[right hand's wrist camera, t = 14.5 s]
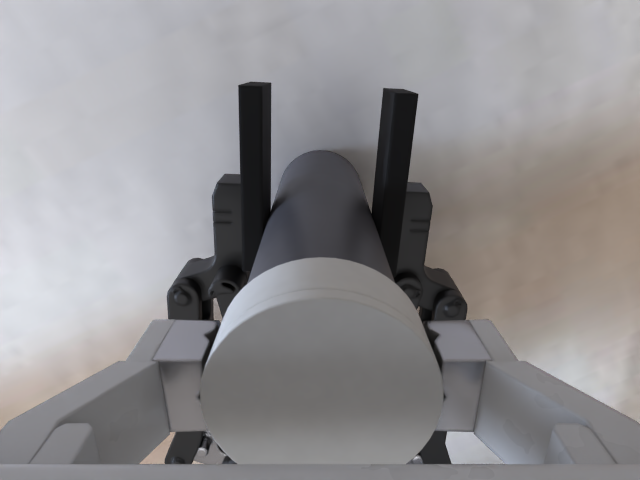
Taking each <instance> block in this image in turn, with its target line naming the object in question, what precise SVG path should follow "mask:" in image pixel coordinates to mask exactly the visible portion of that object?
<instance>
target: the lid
mask: <svg viewBox="0 0 640 480" xmlns="http://www.w3.org/2000/svg"><path fill="white" fill-rule="evenodd" d="M443 395H444V388H443V380H442V375H441V372H440V368H439V365H438V362H437V360H436V357H435V355H434V352H433V350H432V347H431V345H430V342H429V339H428V337H427V334H426V332H425V329H424V327H423V324H422V322H421V319H420V316H419V314H418V312H417V310H416V308H415V306H414V305H413V303H412V302H411V300H410V299H409V297H408V296H407V295H406V294H405V293H404V291H403V290H402V289H401V288H400V287H399V286H398V285H397V284H395V283H394V282H393V281H392V280H390V279H389V278H388V277H386V276H385V275H383V274H381V273H380V272H378V271H376V270H374V269H372V268H370V267H367V266H365V265H363V264H359V263H356V262H353V261H349V260H344V259H338V258H325V257H317V258H305V259H300V260H295V261H290V262H287V263H284V264H281V265H278V266H276V267H274V268H272V269H269V270H267V271H265V272H264V273H262V274H260V275H259V276H257V277H256V278H254V279H253V280H252V281H250V282H249V283H248V284H247V285H246V286H245V287H243V288H242V290H241V291H240V292H239V293H238V294H237V295H236V296H235V298H234V299H233V301H232V302H231V304H230V305H229V307H228V309H227V311H226V313H225V315H224V317H223V320H222V322H221V325H220V328H219V330H218V333H217V336H216V338H215V341H214V343H213V346H212V349H211V351H210V354H209V357H208V359H207V362H206V364H205V367H204V371H203V375H202V378H201V387H200V401H201V408H202V412H203V417H204V420H205V422H206V425H207V427H208V430H209V431H210V433H211V435H212V436H213V438H214V440H215V441H216V443H217V444H218V445H219V446H220V448H221V449H222V450H223V451H224V452H225V453H226V454H227V455H228V456H229V457H230V458H231V459H232V460H233V461H234V462H236V463H237V464H406V463H408V462H409V461H410V460H411V459H413V458H414V457H415V456H416V455H417V454H418V453H419V452H420V451H421V450H422V449H423V447H424V446H425V445H426V443H427V442H428V441H429V439H430V438H431V436H432V434H433V432H434V430H435V429H436V427H437V424H438V421H439V418H440V416H441V411H442V406H443Z"/></svg>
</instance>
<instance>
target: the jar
mask: <svg viewBox="0 0 640 480" xmlns="http://www.w3.org/2000/svg"><path fill="white" fill-rule="evenodd" d="M317 257H325V258H338V259H344V260H349V261H353V262H356V263H359V264H363V265H365V266H367V267H370V268H372V269H374V270H376V271H378V272H380V273H381V274H383V275H385V276H386V277H388V278H389V279H390V280H392V281H393V282H394V283H395V281H394V278H393V276H392V273H391V270H390V267H389V264H388V261H387V258H386V255H385V252H384V249H383V246H382V243H381V241H380V238H379V235H378V232H377V229H376V226H375V223H374V220H373V217H372V214H371V211H370V208H369V206H368V203H367V200H366V197H365V194H364V191H363V188H362V185H361V182H360V179H359V176H358V174H357V172H356V170H355V169H354V167H353V166H352V165H351V163H350V162H349V161H347V160H346V159H345V158H343V157H342V156H340V155H338V154H336V153H333V152H330V151H321V150H319V151H311V152H308V153H305V154H303V155H301V156H299V157H297V158H296V159H295V160H293V161H292V162H291V163H290V164H289V166H288V167H287V168H286V170H285V172H284V174H283V176H282V179H281V182H280V185H279V188H278V191H277V194H276V197H275V200H274V203H273V206H272V209H271V212H270V216H269V219H268V222H267V225H266V228H265V231H264V234H263V237H262V240H261V243H260V246H259V249H258V252H257V255H256V258H255V261H254V264H253V267H252V270H251V273H250V276H249V280H248V283H249V282H250V281H252V280H253V279H254V278H256V277H257V276H259V275H260V274H262V273H264V272H265V271H267V270H269V269H272V268H274V267H276V266H278V265H281V264H284V263H287V262H290V261H295V260H300V259H305V258H317ZM248 283H247V284H248Z"/></svg>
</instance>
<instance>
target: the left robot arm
mask: <svg viewBox="0 0 640 480" xmlns="http://www.w3.org/2000/svg"><path fill="white" fill-rule="evenodd" d="M238 87H239V133H240V174H224V175H223V177H222V178H221V179H220V180H219V181H218V182H217V184H216V187H215V190H214V192H213V195H212V206H213V221H214V223H213V227H214V248H215V256H212V257H210V258H206V259H201V258H193V259H191V260H189V261H188V262H187V264H186V265H185V267H184V268H183V269H182V271H181V272H180V274H179V275H178V277H177V278H176V280H175V281H174V283H173V285H172V286H171V288H170V289H169V291H168V293H167V305H168V319H175V320H214V316H213V298H217V301H218V304H219V308H220V311H221V315H222V318H223V317H224V315H225V313H226V311H227V309H228V307H229V305H230V304H231V302H232V301H233V299H234V298H235V296H236V295H237V294H238V293H239V292H240V291H241V290H242V288H243V287H245V286H246V285H247V283H248V280H249V276H250V273H251V270H252V267H253V264H254V261H255V258H256V255H257V252H258V249H259V246H260V243H261V240H262V237H263V234H264V231H265V228H266V225H267V222H268V219H269V216H270V212H271V83H265V82H248V83H245V84H241V85H238ZM417 101H418V94H417V93H414V92H411V91H408V90H404V89H389V88H383V98H382V109H381V119H380V130H379V140H378V151H377V161H376V172H375V183H374V193H373V204H372V217H373V220H374V223H375V226H376V229H377V232H378V235H379V238H380V241H381V243H382V246H383V249H384V252H385V255H386V258H387V261H388V264H389V267H390V270H391V273H392V276H393V278H394V281H395V284H397V285H398V286H399V287H400V288H401V289H402V290H403V291H404V293H405V294H406V295H407V296H408V297H409V299H410V300H411V302H412V303H413V305H414V306H415V308H416V310H417V308H418V306H420V309H419V316H420V319H421V322H422V324H423V321H447V320H466V314H467V303H466V302H465V300H464V298H463V297H462V295H461V293H460V291H459V290H458V288H457V286H456V285H455V283H454V281H453V280H452V278H451V277H450V275H449V274H448V272H447V271H445V270H444V269H439V268H437V269H431V268H429V267H426V266H425V265H424V261H425V254H426V248H427V241H428V234H429V227H430V220H431V214H432V207H433V206H432V202H431V198H430V194H429V192H428V191H427V190H426V188H425V187H424V186H423V185H422V184H421V183H413V182H408V174H409V166H410V158H411V149H412V141H413V133H414V125H415V117H416V109H417ZM446 434H447V431H434V432H433V434H432V436H431V438H430V439H429V441H428V442H427V443H426V445H425V446H424V447H423V449H422V450H421V451H420V452H419V453H418V454H417V455H416V456H415V457H414V458H413V459H411V460H410V461H409V462H408V463H406V464H451V461H450V458H449V455H448V451H447V448H446V445H445V440H446ZM193 460H194V461H197V462H200V463H204V464H237V463H236V462H234V461H233V460H232V459H231V458H230V457H229V456H228V455H227V454H226V453H225V452H224V451H223V450H222V449H221V448H220V446H219V445H218V444H217V443H216V441H215V440H214V438H213V436H212V435H211V433H210V431H184V432H175V435H174V437H173V440H172V442H171V445H170V447H169V450H168V453H167V455H166V458H165V464H192V462H193Z"/></svg>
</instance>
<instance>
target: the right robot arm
mask: <svg viewBox="0 0 640 480" xmlns="http://www.w3.org/2000/svg"><path fill="white" fill-rule="evenodd" d="M220 325H221V323H220V321H219V320H175V319H162V320H154V321H152V322H151V323H150V325H149V326H148V328H147V329H146V331H145V332H144V334H143V335H142V337H141V338H140V340H139V341H138V343H137V344H136V346H135V348H134V349H133V351H132V352H131V354H130V355H129V357H128V358H127V360H126V361H118V362H116V363H114V364H113V365H111V366H109V367H107V368H105V369H103V370H102V371H100V372H98V373H96V374H94V375H92V376H91V377H89V378H87V379H85V380H83V381H82V382H80V383H78V384H76V385H74V386H72V387H71V388H69V389H67V390H65V391H63V392H61V393H60V394H58V395H56V396H54V397H52V398H50V399H49V400H47V401H45V402H43V403H41V404H39V405H38V406H36V407H34V408H32V409H30V410H28V411H27V412H25V413H23V414H21V415H19V416H17V417H16V418H14V419H12V420H10V421H8V423H7V424H6V425H5V426H4V427H3V428H2V429H1V431H0V480H640V424H639V423H638V422H637V421H635V420H633V419H631V418H629V417H627V416H626V415H624V414H622V413H620V412H618V411H616V410H615V409H613V408H611V407H609V406H607V405H605V404H603V403H602V402H600V401H598V400H596V399H594V398H592V397H591V396H589V395H587V394H585V393H583V392H581V391H580V390H578V389H576V388H574V387H572V386H570V385H568V384H567V383H565V382H563V381H561V380H559V379H557V378H556V377H554V376H552V375H550V374H548V373H546V372H545V371H543V370H541V369H539V368H537V367H535V366H534V365H532V364H530V363H528V362H526V361H518V359H517V358H516V356H515V355H514V354H513V352H512V351H511V349H510V348H509V346H508V345H507V343H506V342H505V340H504V339H503V337H502V336H501V334H500V333H499V332H498V330H497V329H496V327H495V326H494V324H493V323H492V321H490V320H488V319H478V320H447V321H423V327H424V329H425V332H426V334H427V337H428V339H429V342H430V345H431V347H432V350H433V352H434V355H435V357H436V360H437V362H438V365H439V368H440V372H441V375H442V380H443V388H444V395H443V406H442V411H441V416H440V418H439V421H438V424H437V427H436V429H435V430H434V431H459V432H474V434H475V435H476V436H477V437H478V438H479V439H480V440H481V441H482V442H483V443H484V444H485V445H486V446H487V447H488V448H489V449H491V450H492V451H493V452H494V453H495V454H496V455H497V456H498V457H499V458H500V459H501V460H502V461H503V462H504V463H505V464H139V463H140V462H141V461H142V460H143V459H144V458H145V457H146V456H147V455H149V454H150V453H151V452H152V451H153V450H154V449H155V448H156V447H157V446H158V445H159V444H160V443H161V442H162V441H163V440H164V439H165V438H166V437H167V436H168V435H170V432H184V431H209V430H208V427H207V425H206V422H205V420H204V417H203V412H202V408H201V401H200V387H201V378H202V375H203V371H204V367H205V364H206V362H207V359H208V357H209V354H210V351H211V349H212V346H213V343H214V341H215V338H216V336H217V333H218V330H219V328H220Z"/></svg>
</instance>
